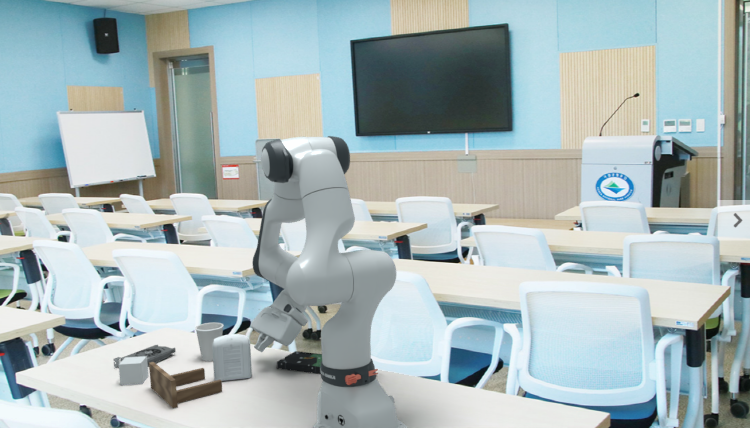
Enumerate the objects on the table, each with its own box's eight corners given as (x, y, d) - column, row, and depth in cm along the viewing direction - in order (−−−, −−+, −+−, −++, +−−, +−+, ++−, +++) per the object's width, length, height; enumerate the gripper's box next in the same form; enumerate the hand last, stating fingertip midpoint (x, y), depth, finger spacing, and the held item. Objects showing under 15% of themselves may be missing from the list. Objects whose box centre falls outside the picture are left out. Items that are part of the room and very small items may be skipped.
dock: (225, 394, 172) (223, 368, 172) (173, 408, 164) (170, 381, 164) (200, 375, 187) (198, 351, 186) (150, 388, 179) (148, 362, 178)
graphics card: (142, 363, 191) (112, 357, 196) (143, 376, 191) (113, 369, 197) (183, 346, 206) (154, 341, 211) (184, 358, 206) (155, 353, 212)
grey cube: (127, 378, 188) (125, 357, 188) (148, 376, 189) (146, 356, 188) (120, 385, 182) (118, 364, 182) (142, 384, 183) (140, 363, 182)
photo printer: (251, 373, 187) (249, 330, 186) (252, 378, 183) (249, 335, 182) (214, 377, 185) (211, 334, 184) (214, 383, 181) (211, 338, 180)
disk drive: (276, 371, 190) (322, 376, 184) (276, 361, 190) (321, 366, 184) (295, 359, 200) (339, 364, 194) (295, 350, 199) (339, 354, 193)
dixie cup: (217, 363, 197) (214, 330, 196) (192, 362, 200) (189, 329, 198) (230, 354, 205) (228, 322, 204) (206, 353, 207) (204, 321, 206)
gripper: (263, 297, 199) (234, 335, 195) (296, 310, 183) (265, 352, 178) (277, 309, 202) (249, 347, 198) (311, 322, 186) (281, 364, 181)
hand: (257, 350), depth 188 cm, fingers closed
